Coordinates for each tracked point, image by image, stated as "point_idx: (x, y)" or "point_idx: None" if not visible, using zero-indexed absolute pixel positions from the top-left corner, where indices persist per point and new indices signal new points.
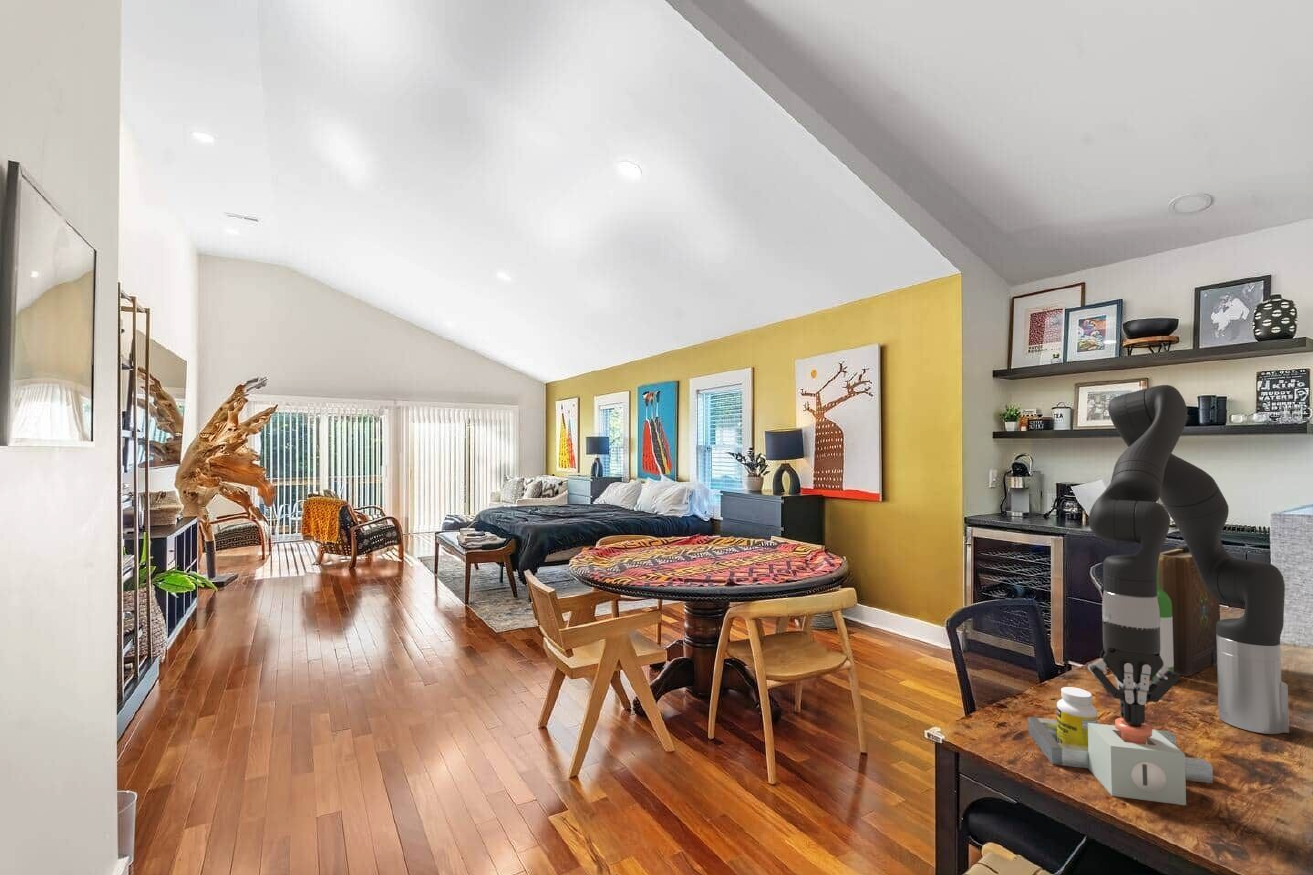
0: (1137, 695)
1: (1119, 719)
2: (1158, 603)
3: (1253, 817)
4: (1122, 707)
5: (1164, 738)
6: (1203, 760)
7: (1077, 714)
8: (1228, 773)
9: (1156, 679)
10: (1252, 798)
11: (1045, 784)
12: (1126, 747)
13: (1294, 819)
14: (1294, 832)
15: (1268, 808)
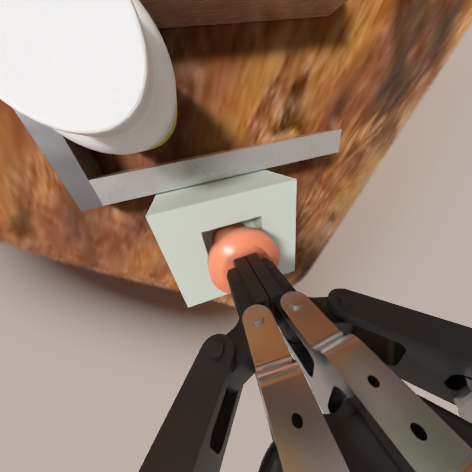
0: (294, 355)
1: (222, 254)
2: None
3: (312, 223)
4: (236, 305)
5: (292, 222)
6: (336, 136)
7: (109, 153)
8: (358, 97)
9: (444, 362)
10: (338, 175)
11: (101, 271)
12: (213, 297)
13: (346, 207)
14: (329, 233)
15: (338, 194)
